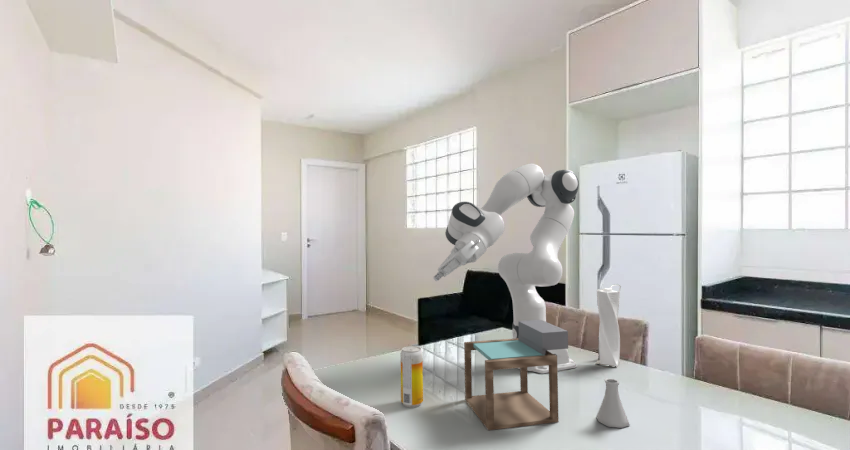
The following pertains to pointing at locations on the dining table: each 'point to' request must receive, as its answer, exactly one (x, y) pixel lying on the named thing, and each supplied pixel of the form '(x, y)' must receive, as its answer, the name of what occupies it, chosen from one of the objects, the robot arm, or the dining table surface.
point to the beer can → (411, 376)
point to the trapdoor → (527, 341)
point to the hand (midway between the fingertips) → (440, 275)
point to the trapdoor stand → (511, 405)
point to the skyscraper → (608, 326)
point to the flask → (612, 407)
